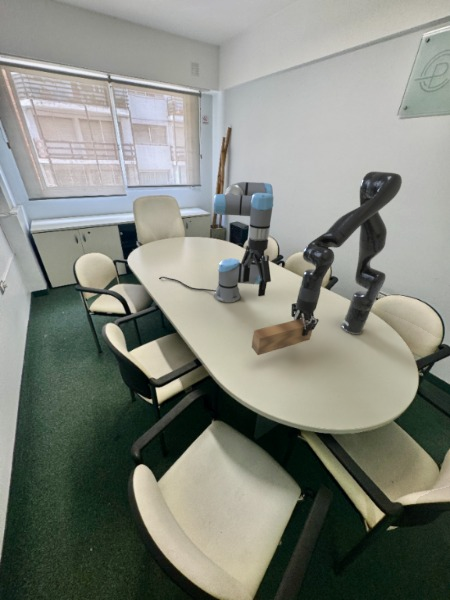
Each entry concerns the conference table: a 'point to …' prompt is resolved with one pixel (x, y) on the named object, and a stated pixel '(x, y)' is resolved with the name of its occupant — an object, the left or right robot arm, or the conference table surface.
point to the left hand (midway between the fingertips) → (253, 288)
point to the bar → (279, 336)
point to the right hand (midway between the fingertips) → (299, 331)
